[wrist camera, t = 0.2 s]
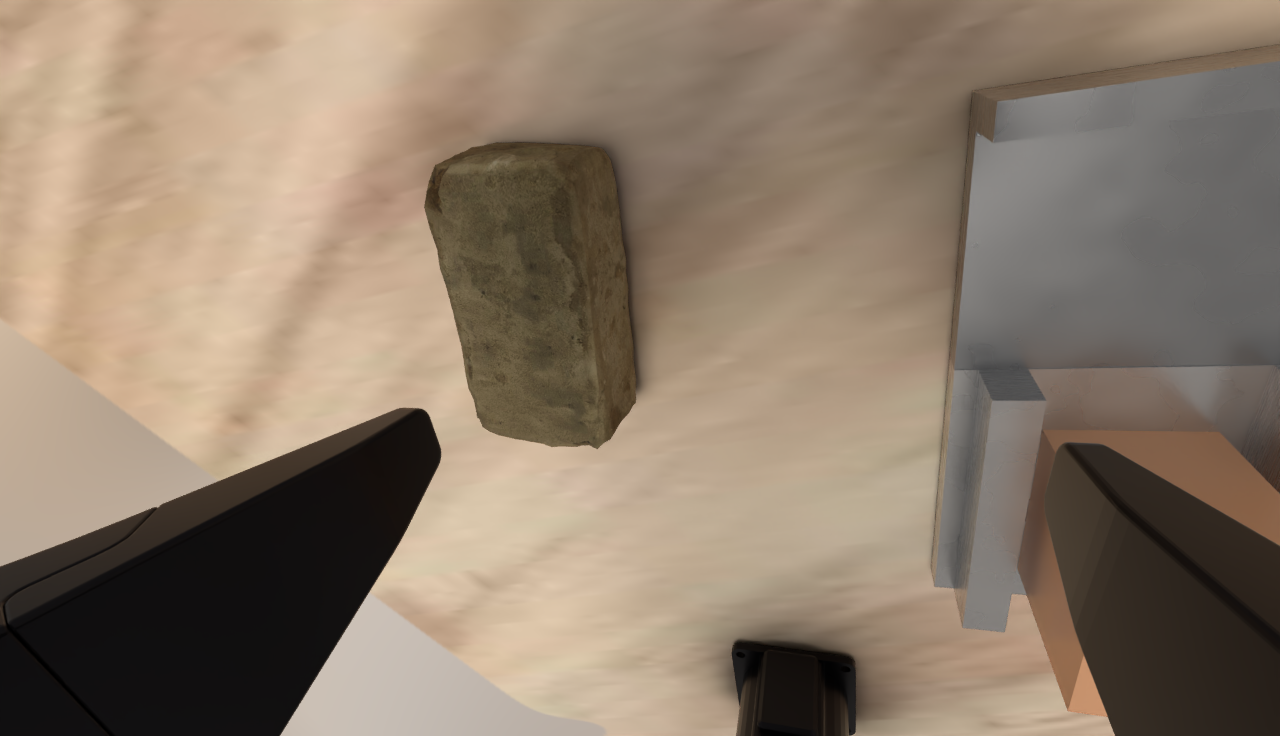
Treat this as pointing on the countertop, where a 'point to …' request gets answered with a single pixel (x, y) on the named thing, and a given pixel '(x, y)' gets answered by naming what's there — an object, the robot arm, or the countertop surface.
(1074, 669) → the block
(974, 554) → the chute
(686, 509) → the countertop surface
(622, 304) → the stone block
